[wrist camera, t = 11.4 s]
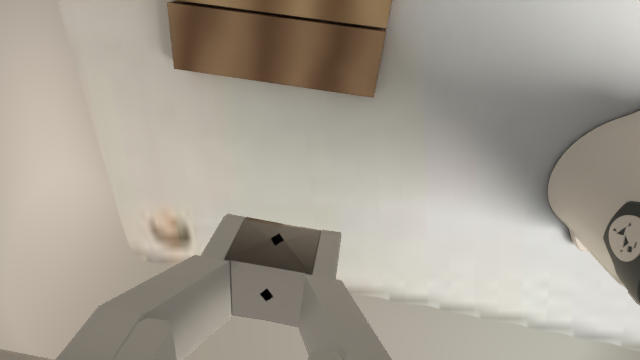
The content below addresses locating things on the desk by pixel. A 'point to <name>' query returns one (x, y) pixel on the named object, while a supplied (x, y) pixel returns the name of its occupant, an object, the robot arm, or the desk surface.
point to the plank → (317, 9)
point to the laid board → (276, 48)
